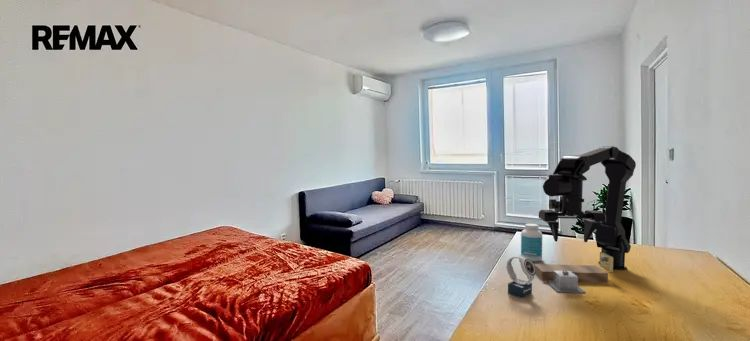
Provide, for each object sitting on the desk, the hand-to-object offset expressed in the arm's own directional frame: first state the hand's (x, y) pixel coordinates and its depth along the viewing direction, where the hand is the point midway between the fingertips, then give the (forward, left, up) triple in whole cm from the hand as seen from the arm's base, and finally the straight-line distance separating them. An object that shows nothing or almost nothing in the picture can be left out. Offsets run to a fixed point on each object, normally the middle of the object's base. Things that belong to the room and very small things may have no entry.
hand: (570, 241), depth 110 cm
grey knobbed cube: (+5, +9, -12) cm, 15 cm away
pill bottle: (+6, -18, -12) cm, 22 cm away
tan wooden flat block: (-11, 0, -9) cm, 14 cm away
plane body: (0, 0, -12) cm, 12 cm away
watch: (+20, +14, -12) cm, 27 cm away
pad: (+5, +9, -12) cm, 16 cm away
